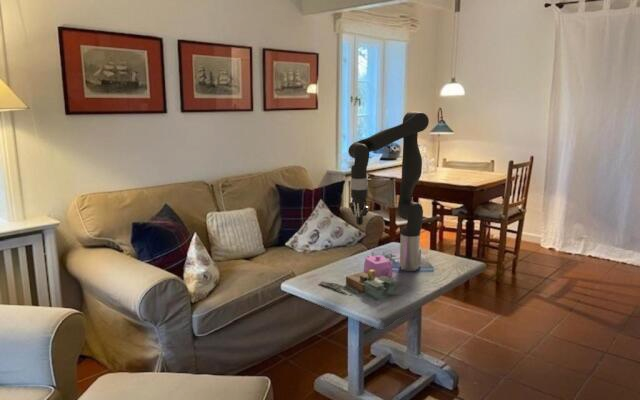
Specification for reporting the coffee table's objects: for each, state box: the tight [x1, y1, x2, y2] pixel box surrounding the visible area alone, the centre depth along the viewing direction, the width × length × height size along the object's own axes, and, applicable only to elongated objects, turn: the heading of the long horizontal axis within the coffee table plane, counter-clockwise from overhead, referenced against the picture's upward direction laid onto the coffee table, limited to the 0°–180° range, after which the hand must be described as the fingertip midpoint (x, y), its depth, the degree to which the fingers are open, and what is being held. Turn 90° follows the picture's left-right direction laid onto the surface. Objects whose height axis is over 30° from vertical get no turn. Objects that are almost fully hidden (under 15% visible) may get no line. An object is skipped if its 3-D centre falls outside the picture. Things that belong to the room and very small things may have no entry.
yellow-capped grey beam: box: [368, 269, 385, 286], centre depth 209 cm, size 2×8×5 cm, turn 34°
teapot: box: [363, 254, 393, 279], centre depth 227 cm, size 18×10×10 cm, turn 24°
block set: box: [345, 271, 398, 302], centre depth 213 cm, size 11×21×6 cm, turn 34°
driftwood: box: [318, 281, 361, 297], centre depth 216 cm, size 21×7×2 cm, turn 44°
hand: (359, 224), depth 225 cm, fingers closed
